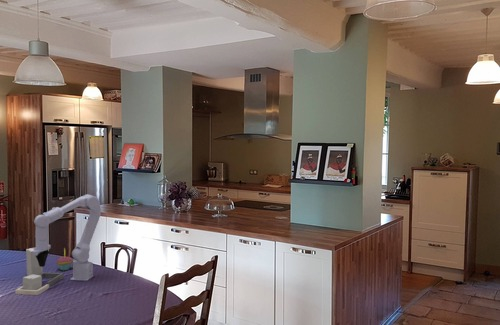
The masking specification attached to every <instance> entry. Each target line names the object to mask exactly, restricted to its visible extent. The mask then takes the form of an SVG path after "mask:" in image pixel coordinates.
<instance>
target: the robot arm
mask: <svg viewBox="0 0 500 325" xmlns="http://www.w3.org/2000/svg"><path fill="white" fill-rule="evenodd" d="M78 207H82V208H86V209H87V210H88V213H89V214H88V215H89V216H88V218H87V221H86V224H85V226H84V229H83V232H82V234H81V237H80V239H79V242H78V243H76V246H75V247H74V249H73V250H72V251H71V256H72V259H73V262H72V277H71V278H70V279H69V280H70V281H87V282H88V281H89V280H91V279H92V278H93V277H94V265H93V262H92V261H89V259H90V250H91V248H90V247H91V246H90V244H91V243H92V242H91V241H92V239H93V236H94V234H95V231H96V228H97V225H98V223H99V220H100V218H101V215H102V210H101V201H100V200H99V198H98V197H97V196H95V195H91V194H89V193H87V194H84V195H82V196H80V197H77V198H76V199H74V200H72V201H70V202H68V203H66V204H65V205H63V206H61V207H59V206H56V207H52V208H51V209H50V210H48V211H46V212H43V213H42V214H38V215H37V216H35V218H34V220H33V223H34V225H35V247H32V248H33V250H34V251H33V255H35V256H36V258H37V260H38V263H39V266H40V267H43V268H44V267H45V265H46V263H47V258H48V256H49V254H50V251H49V250H50V249H52V248H51V246H52V245H51V244H49V229H48V228H49V225H50V224H52V223H53V222H55V221H57V220H59V219H61V218H63V216H64V214H65V213H68V212H70V211H72V210H75V209H76V208H78Z"/></svg>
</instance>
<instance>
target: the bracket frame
mask: <svg viewBox="0 0 500 325" xmlns="http://www.w3.org/2000/svg"><path fill="white" fill-rule="evenodd" d="M49 289H50V287H49V284H47V283H46V284H45V285H42V287H41V288H40V289H38V290H23V285H22V286H20V287H18V288H17V289H15V290H14V292H15V293H14V295H21V294H22V296H23V295H24V296H27V295H28V296H40V295H41V294H42V293H44V292H46V291H47V290H49Z"/></svg>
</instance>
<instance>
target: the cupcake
mask: <svg viewBox="0 0 500 325" xmlns="http://www.w3.org/2000/svg"><path fill="white" fill-rule="evenodd" d="M63 252H64V254H63V256H60V257H59V258H57V260H56V264H57V266H58V268H59V270H60V271H68V270H70V267H71V264H73V260H74V258H73V257H70V256H66V248H63Z"/></svg>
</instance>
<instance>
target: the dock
mask: <svg viewBox="0 0 500 325" xmlns="http://www.w3.org/2000/svg"><path fill="white" fill-rule="evenodd" d="M40 276H42V280H43V279H50V280H47V281H46V284H49V288H50V287H51V286H53V285H54V284H56V283H58V282H60V281H61V280H62V279H63V280H64V272H62V273H61V272H43V273H42V274H40Z"/></svg>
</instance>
